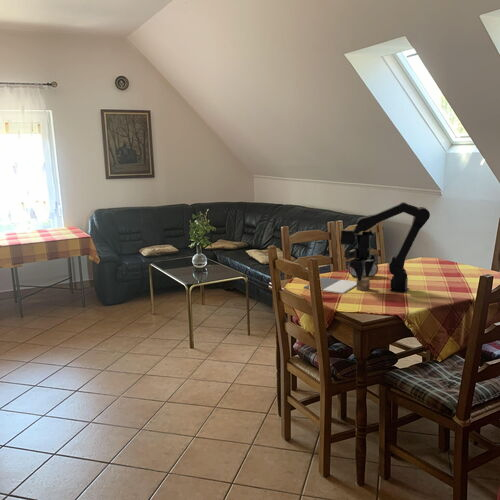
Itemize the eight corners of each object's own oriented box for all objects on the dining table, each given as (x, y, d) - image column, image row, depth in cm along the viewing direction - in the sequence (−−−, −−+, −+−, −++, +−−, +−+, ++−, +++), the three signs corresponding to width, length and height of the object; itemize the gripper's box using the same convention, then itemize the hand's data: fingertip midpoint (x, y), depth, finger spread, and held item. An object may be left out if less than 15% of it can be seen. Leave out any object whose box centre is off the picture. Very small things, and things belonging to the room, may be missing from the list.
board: (360, 283, 240) (360, 282, 240) (343, 293, 224) (343, 292, 224) (322, 278, 252) (322, 277, 252) (303, 288, 236) (303, 286, 236)
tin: (377, 275, 254) (377, 259, 252) (378, 277, 251) (378, 260, 249) (347, 275, 255) (347, 259, 254) (348, 277, 252) (348, 261, 251)
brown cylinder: (369, 288, 231) (369, 278, 230) (365, 291, 227) (365, 280, 226) (360, 287, 233) (360, 277, 232) (356, 289, 230) (356, 279, 229)
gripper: (355, 240, 238) (355, 272, 241) (338, 247, 223) (338, 281, 226) (377, 242, 232) (377, 274, 235) (362, 249, 217) (361, 284, 220)
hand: (363, 278), depth 229 cm, fingers open, 9 cm apart
